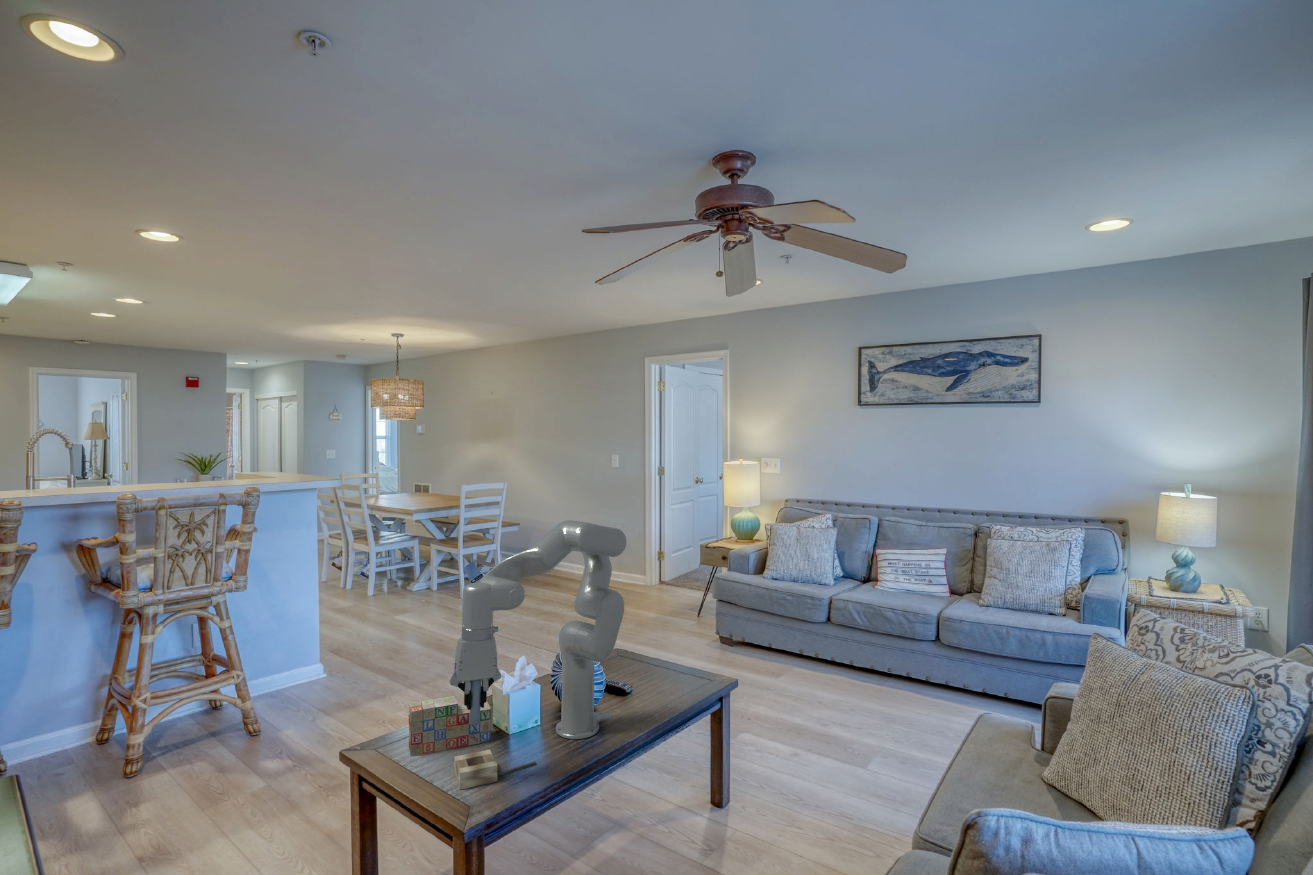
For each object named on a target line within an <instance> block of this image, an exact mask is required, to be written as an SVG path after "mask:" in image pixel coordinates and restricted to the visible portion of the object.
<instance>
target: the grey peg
mask: <svg viewBox="0 0 1313 875" xmlns="http://www.w3.org/2000/svg"><path fill="white" fill-rule="evenodd" d="M470 692H471V694H472V701H471V709H470V716H469V724H471V725H477V724H479V723H480V703H481V680H475V681H470Z"/></svg>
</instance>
